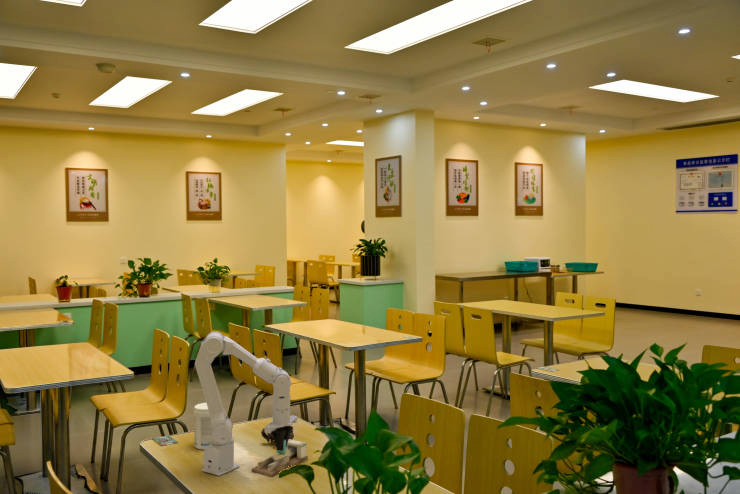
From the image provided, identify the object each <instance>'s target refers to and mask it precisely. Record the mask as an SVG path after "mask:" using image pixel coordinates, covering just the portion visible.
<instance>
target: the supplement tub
mask: <svg viewBox="0 0 740 494" xmlns="http://www.w3.org/2000/svg"><path fill="white" fill-rule="evenodd" d="M193 421H194V422H193V427H194V431H193V432H194V434H193V435H194V437H193V438H194V447H195V449H198V450H200V451H204V450H205V448H206V447H207V446H209V445H210V443H211V439H212V431H213V428H212V424H211V417H210V413H209V410H208V407H207V403H206V402H201V403H197V404H195V405H194V409H193Z"/></svg>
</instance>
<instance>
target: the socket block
mask: <svg viewBox="0 0 740 494" xmlns="http://www.w3.org/2000/svg"><path fill="white" fill-rule="evenodd" d="M307 444H308V443H307V442H304V441H299V440H296V439H293V440H291V439H289V440H288V443H287V447H286V450H287V449H289V448H291V447H293V446H295V447H297V458H300V459H302V458H304V457H306V456H307V453H308V451H307V450H308V449H307V448H308V447H307Z"/></svg>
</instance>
